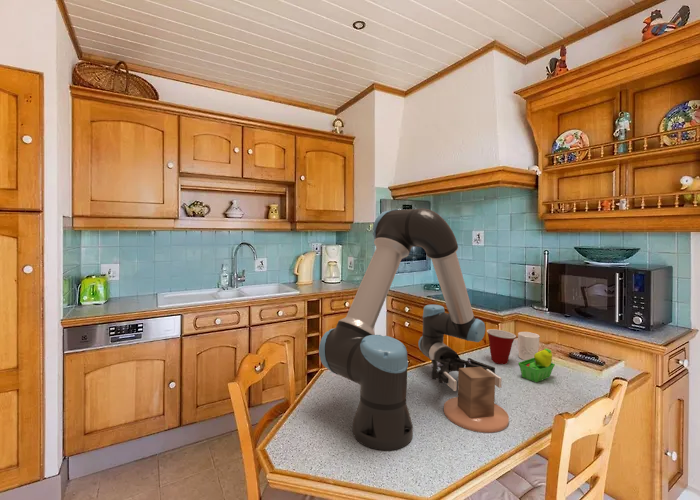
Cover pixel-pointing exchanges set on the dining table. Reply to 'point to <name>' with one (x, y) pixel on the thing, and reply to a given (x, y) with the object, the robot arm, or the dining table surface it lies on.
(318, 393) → the dining table surface
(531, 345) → the white cup
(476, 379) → the walnut block
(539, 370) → the fruit basket
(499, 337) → the plastic cup
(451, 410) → the dish
